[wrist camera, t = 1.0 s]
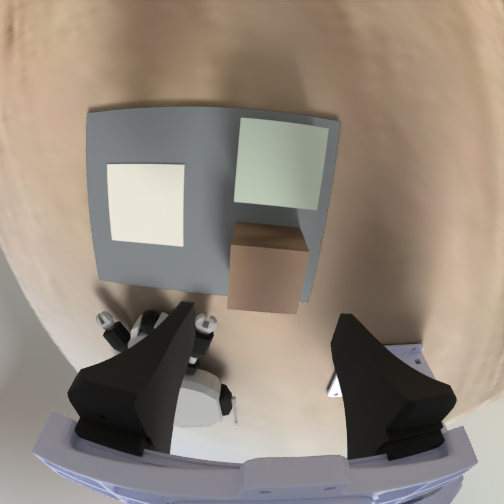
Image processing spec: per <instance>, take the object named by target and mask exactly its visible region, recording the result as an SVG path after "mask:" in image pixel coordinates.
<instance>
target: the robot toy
mask: <svg viewBox="0 0 504 504" xmlns="http://www.w3.org/2000/svg"><path fill="white" fill-rule="evenodd" d="M206 315H207V314H205V313H201V314H199V315H198V316H197V317H196V319H195V339H194V345H193V350H192V354H191V357H190V360H189V363H188V366H187V369H186V372H185V375H184V378H183V381H182V384H181V388H180V392H179V396H178V401H177V406H176V412H175V418H174V424H173V426H178V427H206V426H213V425H214V424H217V423H219V422H221V421H222V420H223V418H224V416H225V415H229V413H230V411H231V409H232V405H233V410H234V418H235V427H237V426H238V421H237V416H236V407H235V404H236V397H235V396H232V394H231V392H230V390H229V389H228V387H227V386H226V385H224V384H221V382H220V379H219V378H218V377H217V376H215V375H213V374H211V373H209V372H207V371H204V370H201V369H197V368H198V366H199V360H198V359H197V358H199V357H201V356H203V355H205V353H206V352H207V350H208V348H209V346H210V343H211V341H212V338H213V336H214V334H213V331H214V330H215V329H216V328H217V320H216V318H215V317H213V316H211V317H210V321H209V322H208V321H205V318H206ZM167 316H168V314H166V313H164V312H162V313H161V315H159V314H158V313H157V312H156V311H153V310H148V311H145V312H144V313H143V314H141V315H140V316H139V318H138V320H137V321H136V323H135V324H134V326H133V328H132V329H131V334H130V333H129V332H128V331H127V330H126V328H125V327H124V326H123V325H122V323H121V322H120V321H118V322H116V323H114V320H113V316H112V315H110V314H109V313H108V312H106V311H103V312H102V313H101V314H98V315H97V317H96V321H97V323H98V325H99V326H100V327H101V328H103V329H105V330H106V331H105V332H104V334H103V336H104V338H105V339H106V340H107V341H108V342H109V344H110V345H111V346H112V347H113V348H114V349H115V350H117V351H120V352H123V351H125V350H127V349H129V348H130V347H132V346H133V345H135V344H136V343H138V342H139V341H140V340H142V339H143V338H144V337H146V336H147V335H148V334H149V333H150V332H151V331H153V330H154V329H155V328H156V327H157V326H158V325H159V324H160V323H161V322H162V321H163V320H164V319H165V318H166V317H167Z"/></svg>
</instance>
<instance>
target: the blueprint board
mask: <svg viewBox="0 0 504 504" xmlns="http://www.w3.org/2000/svg"><path fill="white" fill-rule="evenodd" d="M241 118H251V119H262V120H272V121H281V122H289V123H296V124H303V125H310V126H316V127H322V128H328V129H329V131H328V139H327V147H326V154H325V161H324V168H323V175H322V182H321V188H320V195H319V201H318V207H317V210H309V209H301V208H292V207H282V206H273V205H263V204H252V203H241V202H234V194H235V181H236V168H237V156H238V144H239V133H240V122H241ZM340 125H341V122H340V121H335V120H329V119H324V118H318V117H312V116H306V115H299V114H292V113H284V112H275V111H266V110H255V109H243V108H226V107H149V108H133V109H121V110H111V111H102V112H94V113H87V121H86V169H87V189H88V202H89V213H90V222H91V231H92V238H93V246H94V252H95V258H96V264H97V270H98V276H99V280H103V281H110V282H116V283H123V284H130V285H137V286H145V287H152V288H160V289H168V290H177V291H185V292H194V293H203V294H213V295H223V296H228V284H229V267H230V251H231V242H232V238H233V233H234V229H235V224H236V221H237V222H248V223H259V224H270V225H280V226H290V227H299V228H301V231H302V234H303V236H304V239H305V241H306V244H307V247H308V249H309V257H308V262H307V267H306V272H305V277H304V282H303V287H302V291H301V296H300V301H299V302H309V298H310V294H311V289H312V285H313V281H314V276H315V272H316V267H317V262H318V258H319V253H320V248H321V243H322V238H323V233H324V228H325V222H326V217H327V211H328V206H329V200H330V194H331V188H332V182H333V176H334V169H335V162H336V156H337V148H338V141H339V133H340Z"/></svg>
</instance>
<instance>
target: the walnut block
mask: <svg viewBox="0 0 504 504" xmlns="http://www.w3.org/2000/svg"><path fill="white" fill-rule="evenodd" d="M308 257H309V249H308V247H307V244H306V241H305V239H304V236H303V234H302V231H301V228H299V227H290V226H280V225H270V224H259V223H248V222H237V221H236V224H235V229H234V233H233V238H232V242H231V251H230V267H229V284H228V303H227V309H234V310H245V311H257V312H270V313H284V314H297V310H298V305H299V301H300V296H301V291H302V287H303V282H304V277H305V272H306V267H307V262H308Z"/></svg>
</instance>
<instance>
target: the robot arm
mask: <svg viewBox="0 0 504 504" xmlns="http://www.w3.org/2000/svg"><path fill="white" fill-rule="evenodd" d="M194 339H195V312H194V303H191V302H183V301H182V302H181V303H180V304H179V305H178V306H177V307H176V308H175V309H174V310H173V311H172V312H171V313H170V314H169V315H168V316H167V317H166V318H165V319H164V320H163V321H162V322H161V323H160V324H159V325H158V326H157V327H156V328H155V329H154V330H153V331H151V332H150V333H149V334H148V335H147V336H146V337H144V338H143V339H142V340H140V341H139V342H138V343H136V344H135V345H133V346H132V347H130V348H129V349H127V350H125V351H123V352H122V353H120V354H118V355H116V356H114V357H112V358H110V359H108V360H106V361H103V362H101V363H98V364H96V365H93V366H90V367H87V368H84V369H81V370H80V371H79V373H78V374H77V376H76V377H75V379H74V381H73V383H72V385H71V387H70V389H69V391H68V392H67V393H68V398H69V400H70V402H71V404H72V405H73V407H74V408H75V410H76V412H77V413H78V414H79V416H80V419H79V421H78V423H77V422H76V421H75V420H73V419H71V418H69V417H67V416H64V415H62V414H60V413H57V412H55V411H51V413H50V415H49V417H48V419H47V421H46V423H45V425H44V427H43V429H42V431H41V433H40V435H39V437H38V439H37V441H36V443H35V445H34V448H33V450H32V452H33V453H34V454H35V455H36V456H37V457H38V458H39V459H40V460H41V461H43V462H44V463H45V464H46V465H47V466H48V467H50V468H51V469H52V470H53V471H55V472H56V473H57V474H59V475H61V476H63V477H65V478H67V479H69V480H71V481H73V482H75V483H77V484H80V485H82V486H84V487H87V488H89V489H91V490H93V491H96V492H98V493H101V494H103V495H105V496H108V497H110V498H113V499H116V500H118V501H121V502H124V503H127V504H450V503H451V502H452V500H453V499H454V498H455V496H456V494H457V493H458V492H459V491H460V489H461V487H462V481H463V474H464V473H465V472H466V471H468V470H469V469H470V468H472V467H473V466H474V465H476V464H477V463H478V460H477V458H476V455H475V454H474V450H473V448H472V446H471V443H470V441H469V438H468V436H467V434H466V431H465V429H464V427H463V426H460V427H458V428H455V429H452V430H449V431H447V429H446V426H445V424H444V422H443V419H444V418H445V417H446V416H447V415H448V413H449V412H450V411H451V410H452V409H453V407H454V406H455V404H456V401H457V398H456V396H455V394H454V392H453V390H452V388H451V386H450V385H448V384H445V383H442V382H440V381H437V380H436V379H435V377H434V375H433V373H432V371H431V369H430V368H429V366H428V364H427V362H426V360H425V358H424V356H423V355H422V353H421V352H422V351H423V349H424V345H423V344H406V345H385V346H383V345H382V344H381V343H380V342H379V341H378V340H377V339H376V338H375V337H374V336H373V335H372V334H371V333H370V332H369V331H368V330H367V329H366V328H365V327H364V326H363V325H362V324H361V323H360V322H359V321H358V320H357V319H356V318H355V317H354V316H353V315H352V314H340V317H339V320H338V323H337V326H336V329H335V332H334V335H333V338H332V341H331V351H332V358H333V363H334V367H335V370H336V375H335V377H334V379H333V381H332V384H331V386H330V388H329V390H328V392H327V395H328V396H329V397H341V396H342V398H343V402H344V408H345V416H346V428H347V454H348V455H347V457H348V458H345V457H343V456H341V455H323V456H308V457H266V458H255V459H251V460H247V461H246V462H245V463H243V464H240V463H227V462H217V461H208V460H201V459H194V458H187V457H181V456H176V455H170V447H171V438H172V431H173V424H174V418H175V412H176V406H177V401H178V396H179V392H180V388H181V384H182V381H183V378H184V375H185V372H186V369H187V366H188V363H189V360H190V357H191V354H192V350H193V345H194Z"/></svg>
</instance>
